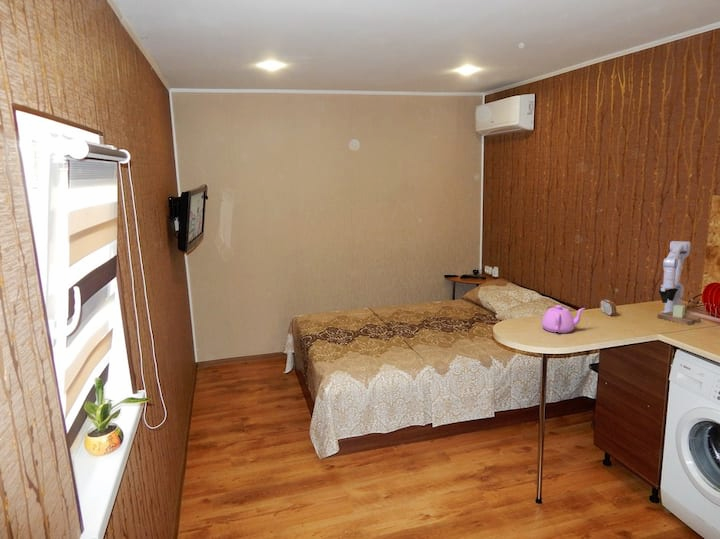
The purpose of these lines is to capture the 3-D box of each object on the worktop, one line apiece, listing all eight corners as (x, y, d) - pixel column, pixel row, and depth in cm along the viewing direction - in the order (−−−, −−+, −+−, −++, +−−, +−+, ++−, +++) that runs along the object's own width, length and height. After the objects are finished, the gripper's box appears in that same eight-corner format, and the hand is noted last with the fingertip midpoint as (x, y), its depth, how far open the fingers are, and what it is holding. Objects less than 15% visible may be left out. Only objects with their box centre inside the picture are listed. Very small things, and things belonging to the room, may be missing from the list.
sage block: (675, 314, 271) (676, 304, 270) (684, 316, 268) (685, 305, 267) (672, 316, 268) (673, 306, 267) (682, 317, 265) (682, 307, 264)
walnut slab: (670, 316, 278) (670, 311, 278) (700, 323, 263) (700, 318, 262) (657, 319, 274) (657, 314, 274) (687, 326, 259) (687, 321, 258)
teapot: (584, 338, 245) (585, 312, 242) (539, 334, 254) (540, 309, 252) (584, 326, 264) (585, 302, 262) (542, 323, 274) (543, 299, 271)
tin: (616, 317, 279) (617, 303, 278) (611, 317, 279) (611, 303, 278) (604, 310, 294) (604, 297, 292) (599, 310, 294) (599, 297, 292)
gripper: (667, 275, 278) (666, 298, 281) (655, 279, 270) (654, 302, 273) (681, 277, 272) (679, 300, 275) (669, 281, 265) (667, 304, 267)
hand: (667, 301), depth 273 cm, fingers open, 7 cm apart
